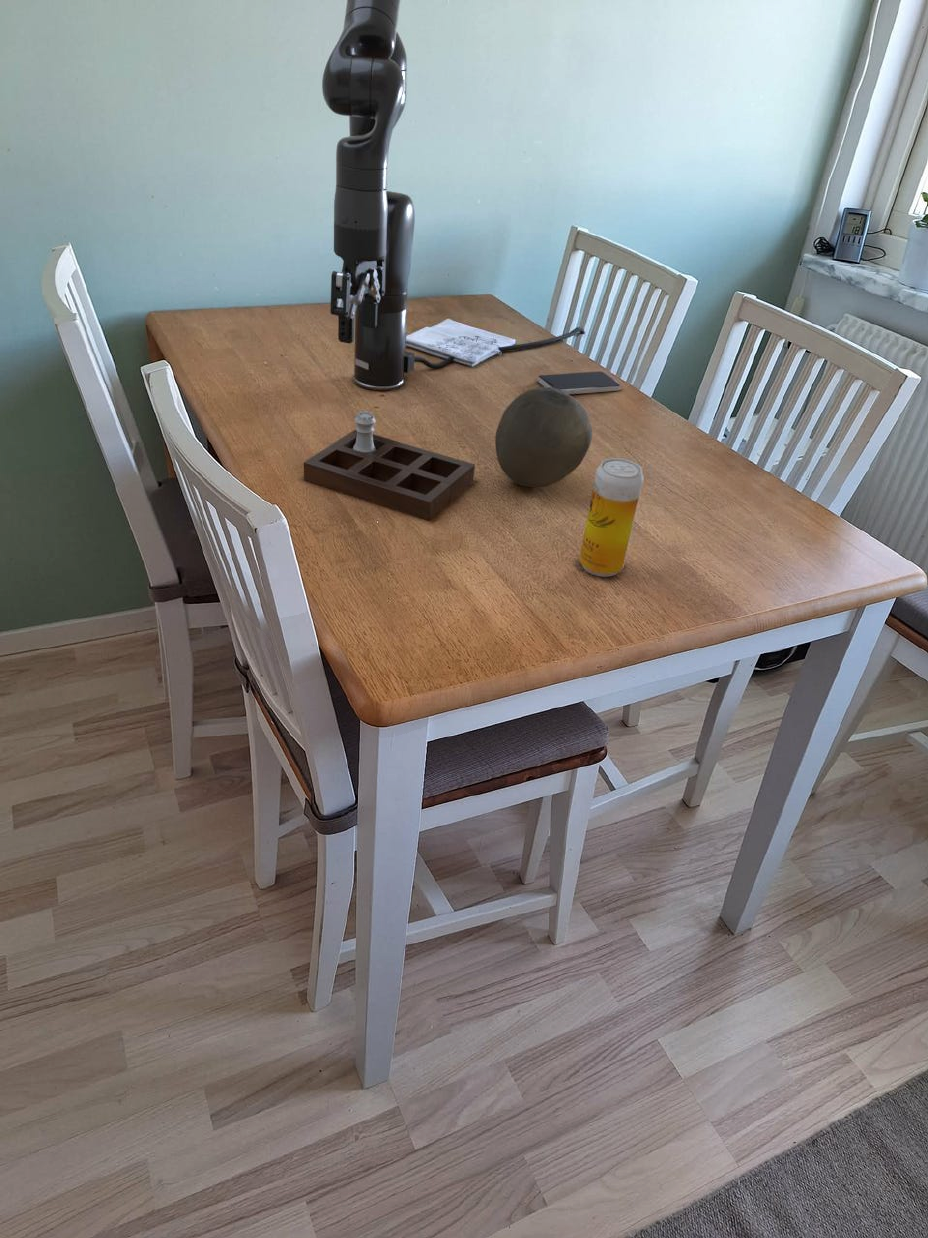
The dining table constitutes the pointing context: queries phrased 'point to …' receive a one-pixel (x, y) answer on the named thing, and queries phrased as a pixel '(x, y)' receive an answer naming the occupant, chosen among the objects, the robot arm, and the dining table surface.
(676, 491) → the dining table surface
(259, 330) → the dining table surface
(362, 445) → the rook chess piece
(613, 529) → the beer can
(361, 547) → the dining table surface
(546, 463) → the cantaloupe
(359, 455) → the open grid frame
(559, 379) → the smartphone
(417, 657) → the dining table surface
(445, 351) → the white paper booklet
